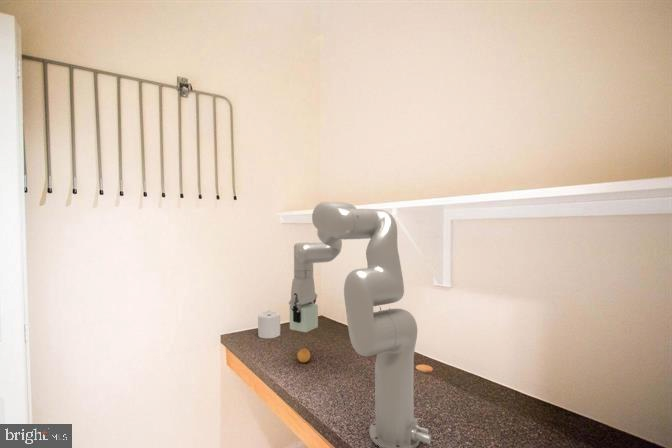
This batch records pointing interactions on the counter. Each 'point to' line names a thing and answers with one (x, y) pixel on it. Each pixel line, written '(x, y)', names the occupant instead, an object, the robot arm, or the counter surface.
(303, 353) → the ball
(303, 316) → the pale sage cube
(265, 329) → the toilet tissue
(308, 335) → the counter surface
